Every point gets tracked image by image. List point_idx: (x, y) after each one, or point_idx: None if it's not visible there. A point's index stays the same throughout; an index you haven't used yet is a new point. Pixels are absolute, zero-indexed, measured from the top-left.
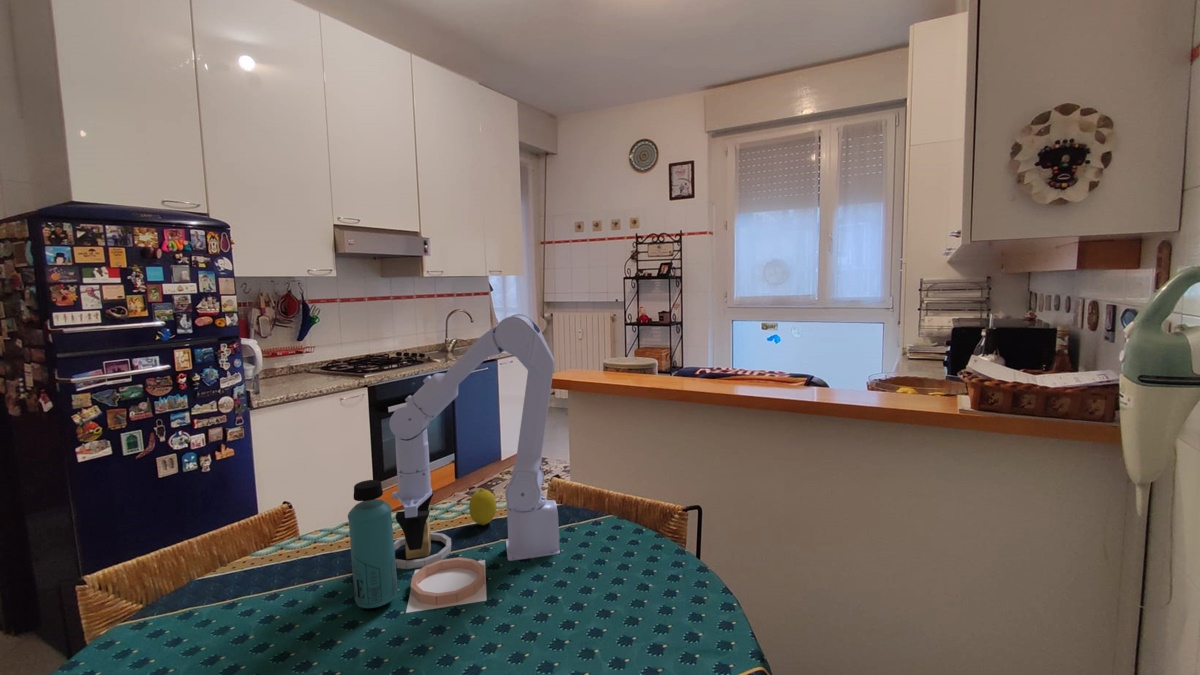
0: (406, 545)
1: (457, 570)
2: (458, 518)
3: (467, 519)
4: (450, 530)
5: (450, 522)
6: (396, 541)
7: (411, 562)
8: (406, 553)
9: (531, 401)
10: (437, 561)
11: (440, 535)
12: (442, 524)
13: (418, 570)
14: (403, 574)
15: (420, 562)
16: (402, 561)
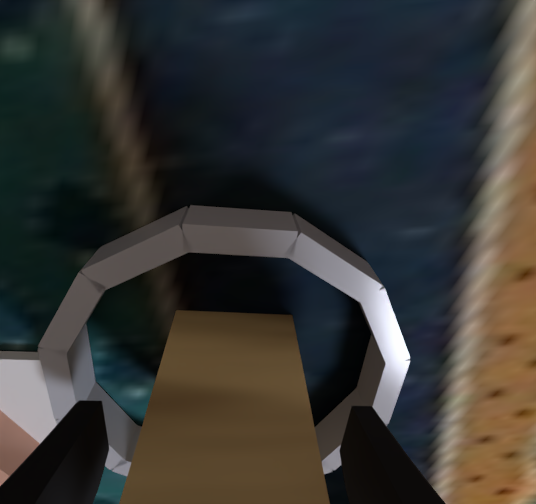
0: (159, 379)
1: None
2: (520, 472)
3: (485, 495)
4: (419, 452)
5: (502, 450)
6: (354, 282)
7: (45, 369)
8: (168, 340)
9: None
10: (7, 475)
11: None
12: (505, 426)
13: (29, 373)
14: (29, 305)
15: (54, 399)
16: (58, 330)
